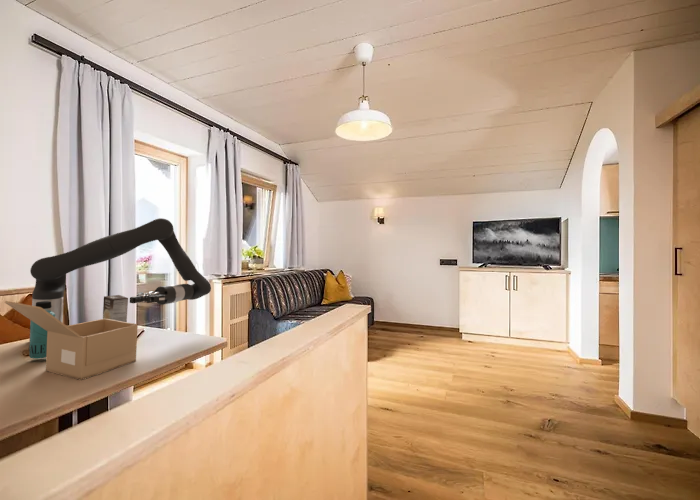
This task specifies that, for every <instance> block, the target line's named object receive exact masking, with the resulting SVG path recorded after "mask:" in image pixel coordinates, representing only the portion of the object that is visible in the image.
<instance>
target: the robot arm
mask: <svg viewBox="0 0 700 500" xmlns="http://www.w3.org/2000/svg"><path fill="white" fill-rule="evenodd" d="M154 241H155V242H156V241H158V242H159V243H160V244H161V245H162V246H163V248H164V250H165V251H166V252H167V254H168V256H169V258H170V259H171V261H172V263H173V265H174V267H175V269H176V270H177V272H178V274H179V276H180V277H181V279H182V280H183V281H185V282H189V281H192V282H193V283H192V284H189V283H180V284H169V285H160V286H158V287H156V289H154V290H152V291H151V290H150V291H148V292H143V291H140V292H138V293H137V294H136V296H130V297H129V303H130V304H138V303H147V304H149V303H152V304H153V303H157V304H158V305H160V306H161V305H162V306H163V305H169V304H173V303H177V302H180V301H181V302H182V301H187V300H189V301H192V300H197V299H200V298H202V297H204V296H206V295H208V294H210V292H212V291H211V290H212V286H211V283H210V282H209V280H208V279H207V278H206V277H204V276H203V274H202V273H201V272H199V270H198V269H197V268H196V266H195V264H194V263H193V261H192V260H191V259H190V257H189V256H188V254H187V253H186V251H185V250H184V249H183V247H182V246H181V244H180V242H179V240H178V239H177V236H176V233H175V230H174V225H173V223H172V222H171V221H170V220H169V219H167V218H163V217H162V218H161V217H159V218H155V219H153V220H151V221H149V222H147V223H145V224H141V225H140V226H138V227H134V228H132V229H128V230H124V231H120V232H117V233H114V234H110V235H107V236H104V237H101V238H99V239H95V240H93V241H91V242H88V243H86V244H84V245H81V246H79V247H77V248H75V249H73V250H70V251H67V252H64V253H60V254H56V255H53V256H46V257H43V258H39V259H37V260H36V261H35V262H34V263H33V264H32V265H31V267H30V275H31V277H32V278H33V279H35V285H34V287H33V290H32V296H31V306H36V302H41V301H50V302H51V306H52V307H51V308H48V309H44V310H46V311H52V312H54V313H55V318H57V319H58V320H59V321H61V322H62V323H63V319H64V318H63V317H64V295H65V290H66V283H67V274H69V273H71V272H73V271H76V270H78V269H81V268H84V267H89V266H92V265H96V264H100V263H103V262H107V261H110V260H112V259H116V258H117V257H120V256H122V255H125V254H127V253H129V252H131V251H132V250H134V249H136V248H138V247H140V246H142V245H144V244H149V243H151V242H154ZM29 323H30V324H29V325H31V322H29Z"/></svg>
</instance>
